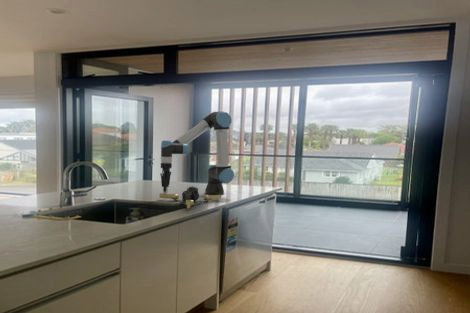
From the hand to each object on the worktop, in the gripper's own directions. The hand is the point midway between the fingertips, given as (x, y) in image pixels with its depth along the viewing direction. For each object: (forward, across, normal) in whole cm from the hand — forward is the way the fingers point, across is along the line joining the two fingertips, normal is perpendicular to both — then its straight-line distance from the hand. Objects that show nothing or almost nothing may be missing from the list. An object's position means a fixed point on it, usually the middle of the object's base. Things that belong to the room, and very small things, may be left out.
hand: (165, 196), depth 252 cm
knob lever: (+2, +1, +4) cm, 4 cm away
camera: (+1, +3, +20) cm, 21 cm away
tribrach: (+2, +3, +21) cm, 21 cm away
